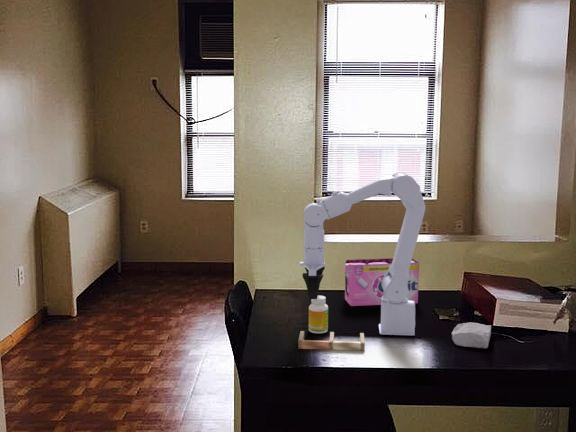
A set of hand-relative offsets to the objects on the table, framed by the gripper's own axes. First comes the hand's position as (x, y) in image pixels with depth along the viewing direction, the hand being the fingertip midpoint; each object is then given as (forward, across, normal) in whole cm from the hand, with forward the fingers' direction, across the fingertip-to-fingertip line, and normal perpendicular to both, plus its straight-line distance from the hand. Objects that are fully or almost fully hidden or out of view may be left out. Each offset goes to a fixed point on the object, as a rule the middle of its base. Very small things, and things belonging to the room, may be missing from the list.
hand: (313, 295), depth 177 cm
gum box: (+11, -31, +20) cm, 38 cm away
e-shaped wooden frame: (+10, +10, +5) cm, 16 cm away
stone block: (+11, +3, +42) cm, 44 cm away
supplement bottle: (+10, 0, +1) cm, 10 cm away
